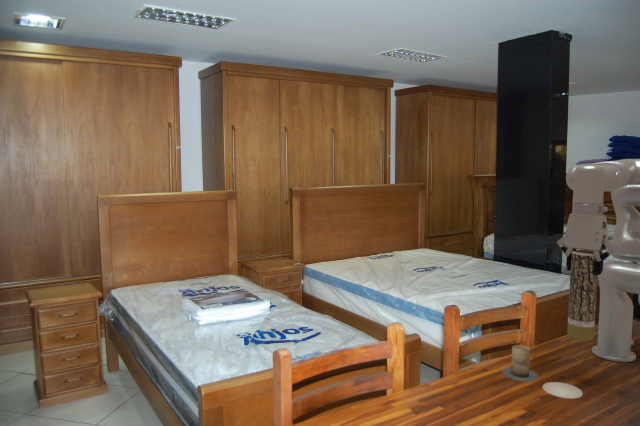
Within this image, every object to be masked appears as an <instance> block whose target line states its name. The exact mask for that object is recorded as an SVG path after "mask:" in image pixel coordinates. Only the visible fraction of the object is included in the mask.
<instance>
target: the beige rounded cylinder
mask: <svg viewBox="0 0 640 426" xmlns="http://www.w3.org/2000/svg"><path fill="white" fill-rule="evenodd" d="M530 359H531V348H530V347H529V346H527V345H526V346H525V345H521V344H514V345H512V346H511V363H510V364H511V366H510V367H511V374H512V375H514V376H516V377H521V378H526V377H529V370H530V361H531V360H530Z"/></svg>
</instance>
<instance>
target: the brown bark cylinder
mask: <svg viewBox="0 0 640 426" xmlns="http://www.w3.org/2000/svg"><path fill="white" fill-rule="evenodd" d="M594 261H596V258H595V255H594V253H593V251H588V250H580V249H577V250H573V251H572V253H571V271H569V272H570V273H569V275H570V276H569V296H568V311H567V329H566V330H567V332H566V334H567V337H569V338H570V339H572V340H575V341H580V342H590V341H593V340H594V338H595V325H596V324H595V323H596V321H595V320H596V309H597V308H596V307H597V306H596V304H597V293H598V291H597V290H598V275H594V274H593V271H594Z"/></svg>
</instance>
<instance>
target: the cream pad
mask: <svg viewBox="0 0 640 426" xmlns="http://www.w3.org/2000/svg"><path fill="white" fill-rule="evenodd" d="M542 389H543V390H544V391H545V392H546V393H548V394H549V395H552V396H554V397H556V398H557V397H558V398H562V399H568V400H569V399H571V400H572V399H579V398H581V397H582V396H583V394H584V393H583V391H582V389H580V388H579V387H577V386H574V385H572V384H569V383H564V382H559V381H554V382H553V381H550V382H545V383H544V384H543V385H542Z"/></svg>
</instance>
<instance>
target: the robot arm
mask: <svg viewBox="0 0 640 426" xmlns="http://www.w3.org/2000/svg"><path fill="white" fill-rule="evenodd" d="M565 182H566V185H567V186H568V188H569V189H570V190H572V191H573V193H572V209H571V210H572V211H571V212H572V213H569V216H568V220H567V224H566V228H565V229H566V230H565V235H564V236H562V237H561V238H559V239H558V240H557V241H556V244H557V245H558V246H559V248H560V249H561V251H562V253H564V256H565V257H566V263H565V266H566V270H567V271H569V272H571V253H572V251H573V250H588V251H593V253H594V255H595V258H596V261H594V271H593V274H594V275H597V279H598V283H599V311H598V312H599V313H598V330H597V331H598V333H597V345H595V346H593V347H592V348H591V352H592V354H593V355H594V356H596V357H598V358H601V359H603V360H606V361H611V362H616V363H629V362H630V363H631V362H634V361H635V360H636V359H637V355H636V353H635V352H633V351H632V350H631V349H632V346H633V345H634V344H635V343H634V340H632V336H633V334H632V332H633V318H634V317H633V316H634V304H633V301H632V299H631V298H630V296H629V295H628V293H630V294H635V295H637V294H638V295H640V212H639V210H638V209H636V207H640V158H623V159H617V160H616V159H615V160H610V161H600V162H592V163H591V162H590V163H582V164H581V163H579V164H574V165H571V166H570V168H569V169H568V170H567V172H566V176H565ZM604 192H610V196H611V200H612V201H611V202H612V205H613V210H614V213H615V216H616V218H615V219H616V221H615V227H614V231H613V235H612V238H611V241H609V233H608V231H609V230H608V222H607V215H604V213H607V212H608V210H609V207H608V206H605V204H604V195H605V194H604ZM605 250H606V251H605ZM610 256H612V257H613V258H614V259H616V260H608V261H605V260H606V259H608V258H609V257H610ZM619 260H620V261H619Z"/></svg>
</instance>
